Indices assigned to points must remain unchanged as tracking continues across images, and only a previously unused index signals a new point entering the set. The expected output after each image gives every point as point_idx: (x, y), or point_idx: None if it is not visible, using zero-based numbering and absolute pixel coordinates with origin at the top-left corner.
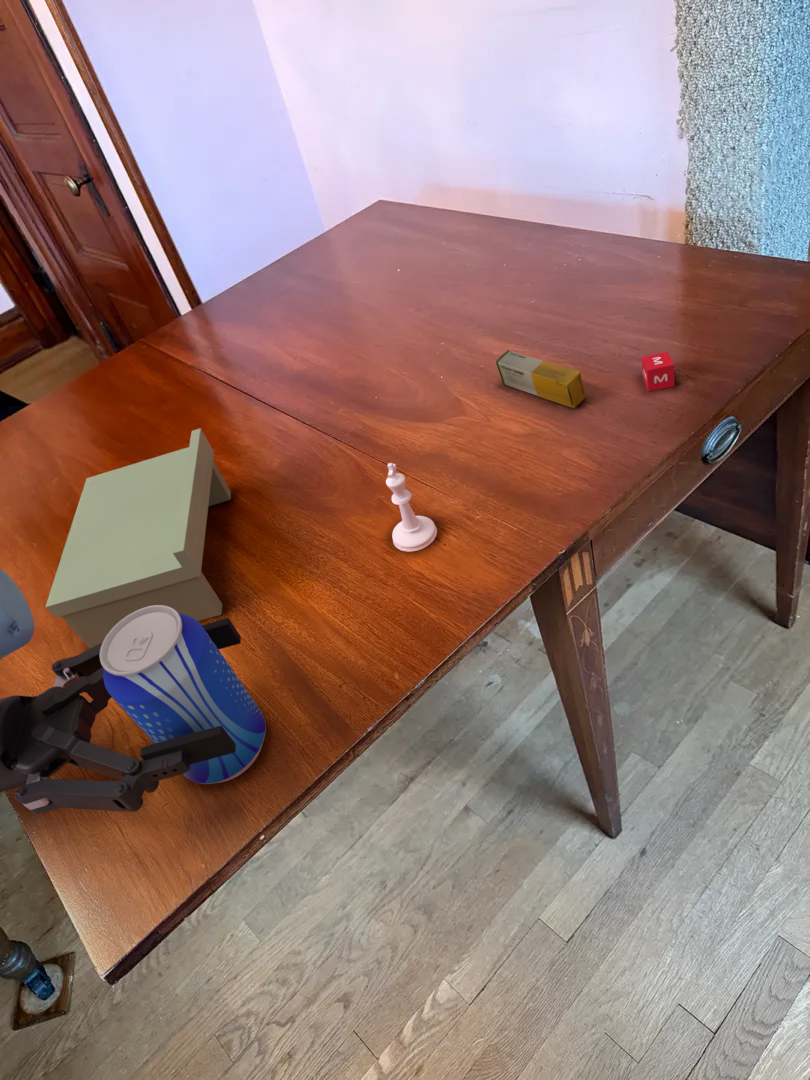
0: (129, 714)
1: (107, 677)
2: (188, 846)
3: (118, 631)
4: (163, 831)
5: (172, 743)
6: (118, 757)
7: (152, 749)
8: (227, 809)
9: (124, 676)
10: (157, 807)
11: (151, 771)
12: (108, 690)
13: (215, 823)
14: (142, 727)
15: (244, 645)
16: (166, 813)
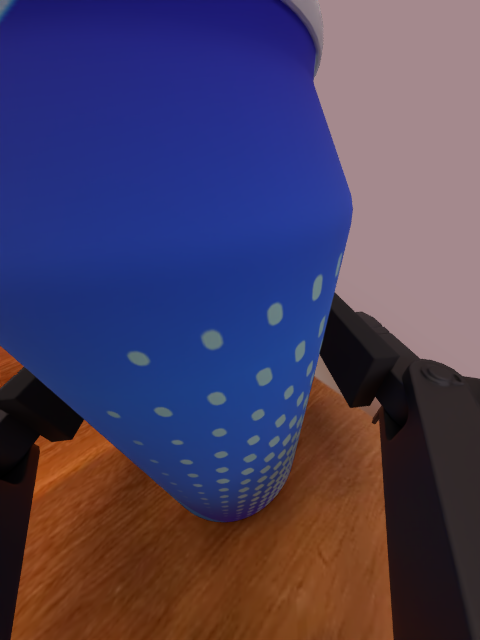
0: (320, 331)
1: (276, 108)
2: (378, 477)
3: None
4: (372, 547)
5: (343, 309)
6: (442, 430)
7: (369, 335)
8: (315, 423)
9: (313, 79)
10: (330, 584)
11: (408, 350)
12: (317, 206)
13: (335, 437)
14: (314, 370)
15: (73, 438)
16: (338, 548)
